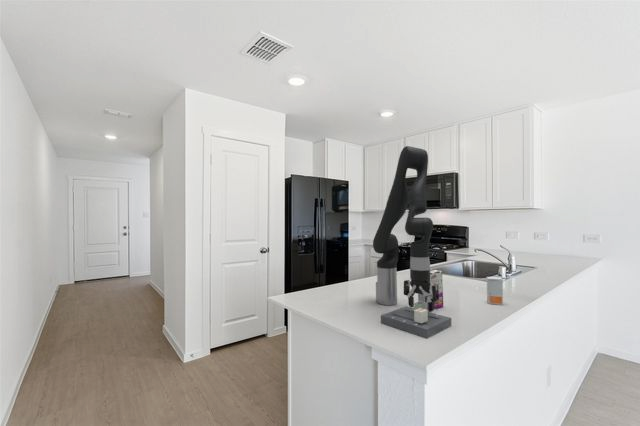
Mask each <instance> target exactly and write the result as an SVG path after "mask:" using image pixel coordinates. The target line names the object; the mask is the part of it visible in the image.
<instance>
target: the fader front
mask: <svg viewBox="0 0 640 426" xmlns="http://www.w3.org/2000/svg"><path fill="white" fill-rule="evenodd" d="M428 312H429V310H426V309H422V308H419V309H417V310H414V321H415V322H418V323H421V324H422V323H424V322H426V321H428Z"/></svg>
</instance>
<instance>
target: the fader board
mask: <svg viewBox="0 0 640 426" xmlns="http://www.w3.org/2000/svg"><path fill="white" fill-rule="evenodd" d="M414 310H415V307H409V306H403V307H400V308H398V309H395V310H392V311H388V312H387V313H386V312H385V313H384V314H381V315H380V324H382V325H386V326H389V327H392V328H395V329H398V330H400V331H404V332H407V333H411V334H413V335H416V336H420V337H422V338H424V339H428V338H430V337H432V336H434V335H436V334H438V333H440V332H443V331H444V330H446V329H448V328H449V327H452V317H451V316H450V317H449V316H445V315H443V314H442V315H441V314H437V313H435V312H429V311H428V321H426V322H424V323H422V324H421V323H418V322H415V321H414Z"/></svg>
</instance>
